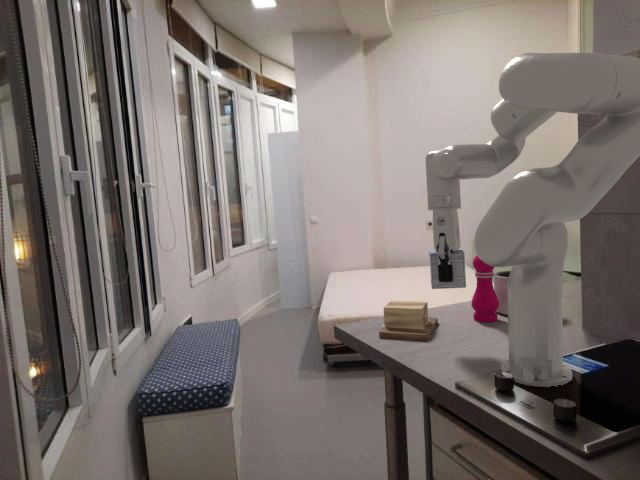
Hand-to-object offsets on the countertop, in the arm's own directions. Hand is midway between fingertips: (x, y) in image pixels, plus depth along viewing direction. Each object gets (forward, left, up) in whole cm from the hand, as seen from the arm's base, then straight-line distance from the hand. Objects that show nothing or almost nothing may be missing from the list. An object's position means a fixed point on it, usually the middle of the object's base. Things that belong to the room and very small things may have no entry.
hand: (447, 278), depth 113 cm
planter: (+31, -15, -16) cm, 38 cm away
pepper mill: (+21, -7, -16) cm, 27 cm away
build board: (+7, +11, -15) cm, 21 cm away
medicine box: (0, 0, -2) cm, 2 cm away
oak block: (+8, +12, -14) cm, 20 cm away
